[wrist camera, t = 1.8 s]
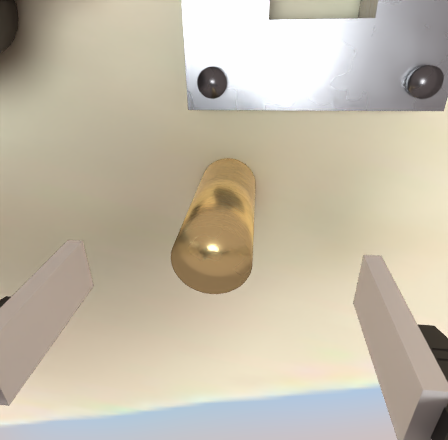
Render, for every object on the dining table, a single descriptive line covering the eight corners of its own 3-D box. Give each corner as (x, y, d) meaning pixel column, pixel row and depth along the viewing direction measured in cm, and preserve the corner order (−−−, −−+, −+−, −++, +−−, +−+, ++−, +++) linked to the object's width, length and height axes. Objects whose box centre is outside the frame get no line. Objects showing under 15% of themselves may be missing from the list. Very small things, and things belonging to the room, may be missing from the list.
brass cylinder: (203, 207, 27) (174, 291, 18) (200, 157, 25) (167, 224, 16) (254, 209, 26) (251, 295, 17) (256, 158, 24) (253, 227, 16)
